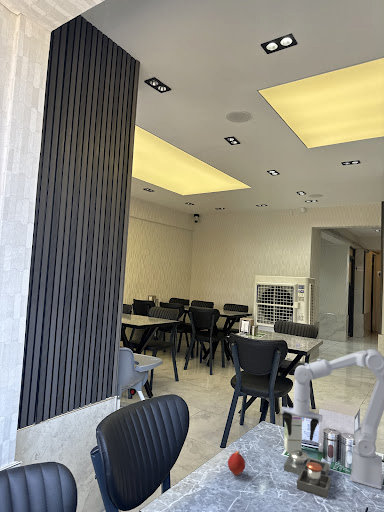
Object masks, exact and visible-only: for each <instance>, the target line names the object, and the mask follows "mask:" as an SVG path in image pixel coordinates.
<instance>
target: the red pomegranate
mask: <svg viewBox="0 0 384 512" xmlns="http://www.w3.org/2000/svg"><path fill="white" fill-rule="evenodd" d="M227 468H228V470H229V471H230V472H231V473H232V474H233V475H234V476H238V475H240V474H242V473H243V472H244V471H245V468H246V461H245V459H244V457H243V455H241V453H240V452H239V450H236V451H235V452H233V453H232V454H231V455H230V456H229V457H228V460H227Z"/></svg>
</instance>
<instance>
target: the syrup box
mask: <svg viewBox="0 0 384 512" xmlns="http://www.w3.org/2000/svg"><path fill="white" fill-rule="evenodd" d="M302 423H303V417H299V416H294V415H292V433H291V435H290V436H289V435H288V430H287V426H286V423H285V422H284V426H283V427H284V428H283V429H284V433H283V434H284V435H283V447H284V449H285V452H286V453H288V454H290V453H291V452H292V451H297V450H300V451H302V442H303V441H302V437H303V435H302V434H303V432H302V431H303V429H302V427H303V424H302Z"/></svg>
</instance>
